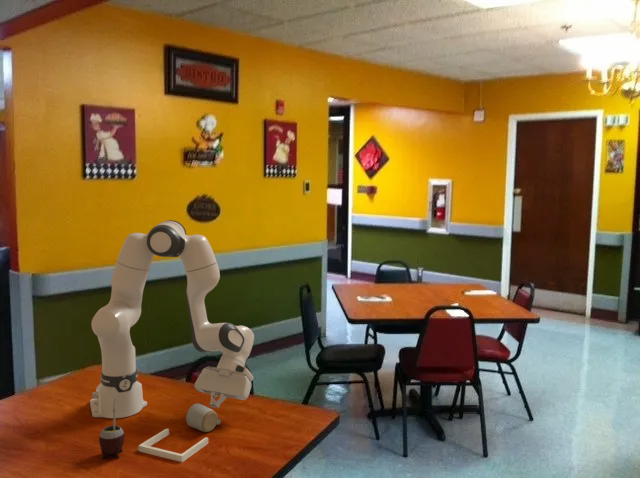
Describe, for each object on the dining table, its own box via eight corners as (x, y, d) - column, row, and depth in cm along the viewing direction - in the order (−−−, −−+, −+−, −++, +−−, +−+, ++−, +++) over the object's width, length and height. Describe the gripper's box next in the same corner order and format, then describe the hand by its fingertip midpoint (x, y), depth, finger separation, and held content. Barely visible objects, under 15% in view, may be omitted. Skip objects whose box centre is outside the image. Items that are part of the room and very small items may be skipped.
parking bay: (138, 451, 174) (138, 445, 173) (166, 433, 185) (166, 428, 185) (182, 462, 167) (182, 456, 167) (208, 443, 179) (208, 437, 179)
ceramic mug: (202, 436, 184) (202, 413, 183) (185, 429, 189) (185, 406, 188) (226, 425, 192) (226, 403, 192) (209, 419, 197) (209, 397, 196)
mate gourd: (107, 463, 166) (106, 413, 165) (93, 454, 171) (91, 405, 170) (131, 454, 172) (129, 405, 170) (116, 446, 177) (115, 398, 175)
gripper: (200, 361, 205) (184, 397, 197) (251, 369, 197) (235, 407, 189) (208, 370, 210) (192, 405, 202) (257, 378, 202) (243, 415, 194)
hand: (213, 406), depth 195 cm, fingers closed
